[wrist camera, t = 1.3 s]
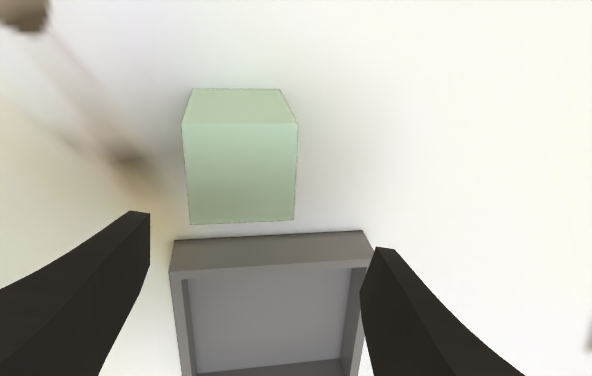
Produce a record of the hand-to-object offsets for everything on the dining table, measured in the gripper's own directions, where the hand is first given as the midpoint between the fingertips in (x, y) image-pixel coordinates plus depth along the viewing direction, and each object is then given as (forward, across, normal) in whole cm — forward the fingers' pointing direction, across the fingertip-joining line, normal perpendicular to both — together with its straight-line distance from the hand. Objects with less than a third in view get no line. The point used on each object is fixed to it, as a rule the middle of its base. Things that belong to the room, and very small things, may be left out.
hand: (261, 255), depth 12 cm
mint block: (+10, +2, 0) cm, 11 cm away
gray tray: (+10, -2, +13) cm, 16 cm away
